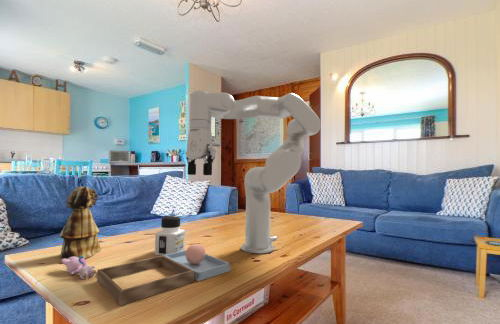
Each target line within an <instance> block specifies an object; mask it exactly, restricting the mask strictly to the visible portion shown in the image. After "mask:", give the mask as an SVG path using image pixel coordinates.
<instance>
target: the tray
mask: <svg viewBox="0 0 500 324" xmlns="http://www.w3.org/2000/svg"><path fill="white" fill-rule="evenodd" d="M186 250H187V249H186ZM186 250H185V249H184V251H180V252H176V253H171V254H167V255H164V256H166V257H168V258H170V259H172V260H174V261H176V262H178V263H180V264H182V265H184V266H186V267H188V268H190V269H192V270H194V280H195V281H197V282H200V281H203V280H206V279H210V278H213V277H215V276H219V275H222V274H224V273H227V272H228V273H229V272H230V271H231V263H230V262H228V261H225V260H223V259H221V258H217V257H215V256H213V255H210V254H208V253H205V257H204V259H203V261H202V262H201V263H199V264H191V263H189V262H188V261H187V259H186Z"/></svg>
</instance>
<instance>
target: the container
mask: <svg viewBox="0 0 500 324" xmlns="http://www.w3.org/2000/svg"><path fill="white" fill-rule="evenodd" d="M160 225H161V226H160V227H161V228H160V229H161V230H160V231H157V232H155V237H154V238H155V240H154V241H155V242H154V255H155V256H162V255H167V254H171V253H176V252H180V251H185V241H186V239H185V237H186V236H185V235H186V234H185V233H186V230H185V229H181V217H180V216H178V215H165V216H163V217H162V218H161V224H160Z"/></svg>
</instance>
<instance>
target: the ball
mask: <svg viewBox="0 0 500 324" xmlns="http://www.w3.org/2000/svg"><path fill="white" fill-rule="evenodd" d="M205 254H206V250H205V248H204V246H202V244H199V243H194V244H193V243H192V244H191V245H189V246H188V248H187V249H186V259H187V261H188V262H189V263H191V264H199V263H201V262H202V261H203V259H204V257H205Z"/></svg>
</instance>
